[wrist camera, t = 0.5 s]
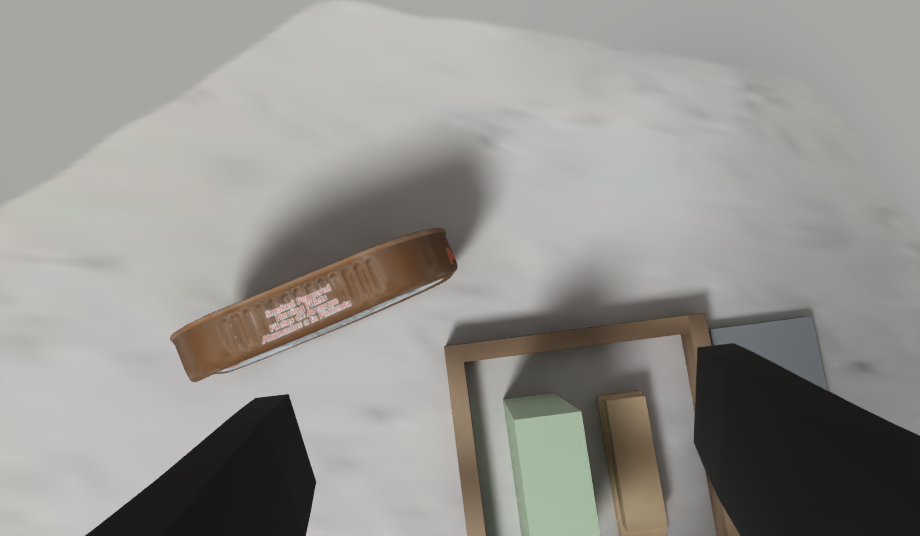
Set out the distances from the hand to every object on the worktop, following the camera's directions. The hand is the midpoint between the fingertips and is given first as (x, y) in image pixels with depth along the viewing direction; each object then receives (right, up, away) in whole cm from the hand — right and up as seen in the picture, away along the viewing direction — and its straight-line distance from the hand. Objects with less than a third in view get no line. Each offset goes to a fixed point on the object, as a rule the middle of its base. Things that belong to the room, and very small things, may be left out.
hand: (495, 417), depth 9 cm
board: (+4, -9, +22) cm, 24 cm away
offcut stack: (+9, -9, +22) cm, 25 cm away
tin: (-8, 0, +23) cm, 24 cm away
